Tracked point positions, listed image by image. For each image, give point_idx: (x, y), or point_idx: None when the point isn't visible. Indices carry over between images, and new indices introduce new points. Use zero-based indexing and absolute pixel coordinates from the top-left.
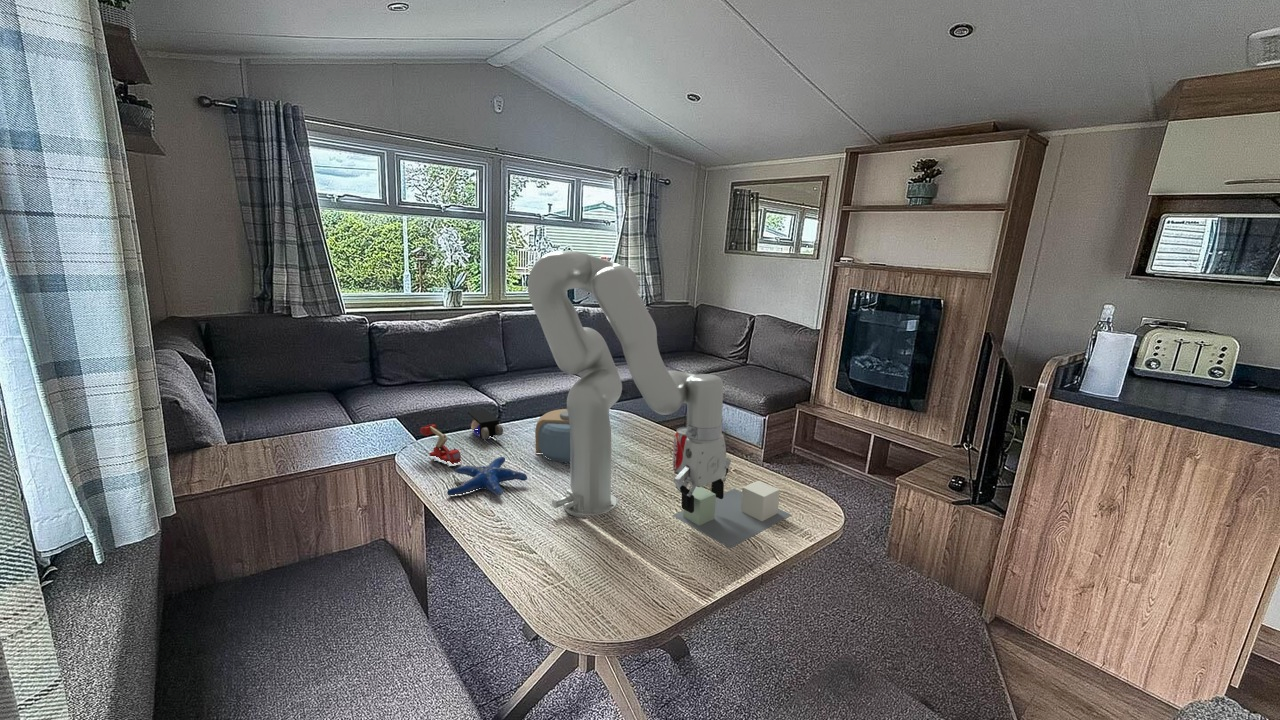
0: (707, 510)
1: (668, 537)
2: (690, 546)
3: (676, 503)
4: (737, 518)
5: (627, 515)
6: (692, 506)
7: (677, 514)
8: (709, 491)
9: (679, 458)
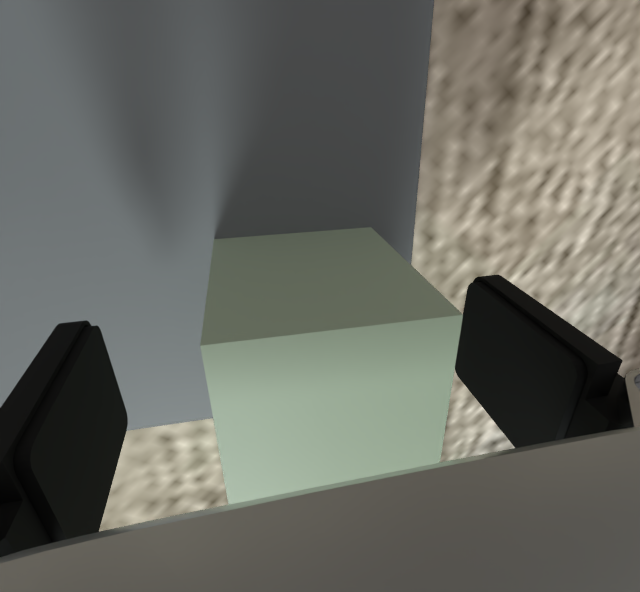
0: (310, 266)
1: (539, 253)
2: (542, 107)
3: None
4: (28, 131)
5: None
6: (529, 299)
7: None
8: (223, 419)
9: None
